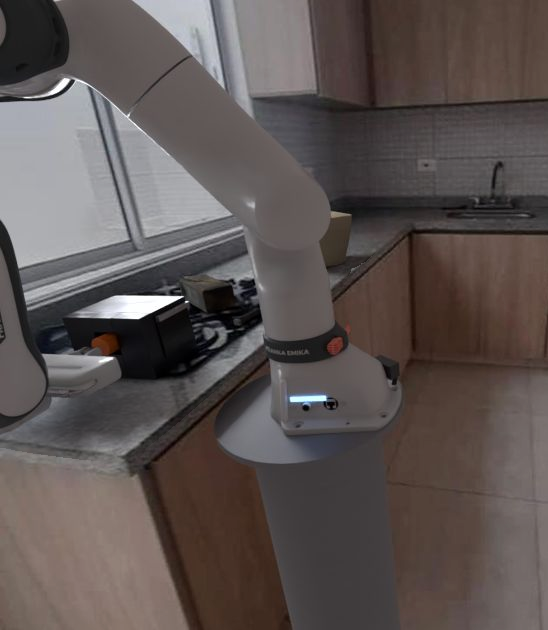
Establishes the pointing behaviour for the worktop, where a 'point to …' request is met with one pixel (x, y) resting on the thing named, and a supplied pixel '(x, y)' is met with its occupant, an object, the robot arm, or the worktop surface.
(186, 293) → the beverage carton
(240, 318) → the knife
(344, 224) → the flower pot
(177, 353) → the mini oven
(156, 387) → the worktop surface
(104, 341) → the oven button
